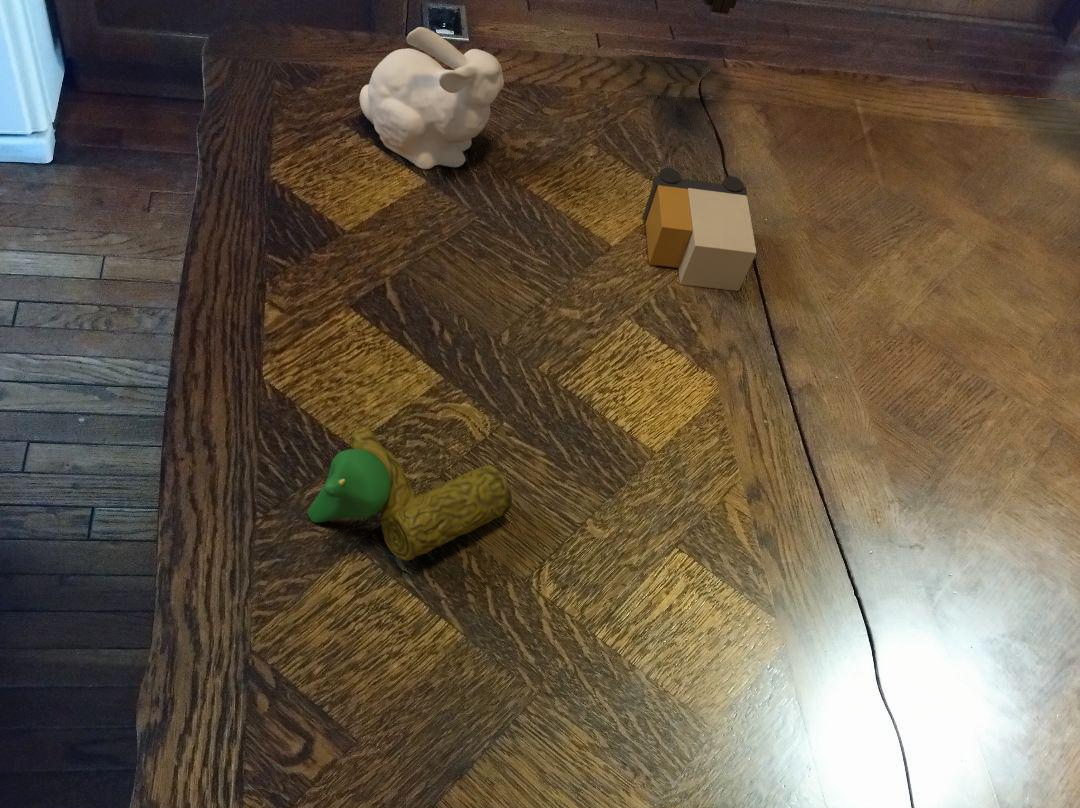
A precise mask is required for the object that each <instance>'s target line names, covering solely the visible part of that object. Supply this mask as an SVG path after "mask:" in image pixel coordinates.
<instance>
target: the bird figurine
mask: <svg viewBox="0 0 1080 808" xmlns="http://www.w3.org/2000/svg"><path fill="white" fill-rule="evenodd" d="M349 443H350V446H351V448H349V449H345V450H342V451H340V452H338V453H337V454H336V455H334V457H333V458H332V460H331V463H330V467H329V471H328V475H327V478H326V481H325V483H324V485H323V487H322V488H321V490H320V491H319V493H318V495H317V496H316V497H315V498H314V500H313V501H312V503H311V504H310V506H309V508H308V510H307V516H308V518H309V519H310V521H311V522H312V523H315V524H317V523H323V522H324V523H325V522H330V521H334V520H338V519H347V518H355V519H356V518H357V519H367V518H370V517H373V516H374V515H376V514H377V513H378V512H380V511H381V510H382V509H383V510H382V513H381V517H380V525H381V531H382V534H383V539H384V542H385V544H386V546H387V548H388V549H389V551H390V552H391V553H392V554H393V555H394V556H395V557H396V558H398V559H399V560H402V561H405V562H407V561H411V560H414V559H415V558H416V557H418V556H422V555H425V554H427V553H429V552H431V551H432V550H434V549H435V548H440V547H441V546H443V545H445V544H446V543H448V542H452V541H453V540H454V539H456V538H458V537H459V536H463V535H467V534H468V533H471V532H472V531H475V530H477V529H478V528H480V527H482V526H484V525H486V524H488V523H490V522H492V521H493V520H496V519H497V518H501V517H503V516H505V515H506V514H508V513H509V511H510V509H511V507H512V503H513V502H512V500H513V496H512V490H511V487H510V483H509V482H508V481H507V479H506V478H505V476H504V474H503V473H502V472H500V470H499V469H497V468H496V467H494V466H492V465H487V464H486V465H482V466H480V467H478V468H476V469H473V470H471V471H468V472H466V473H464V474H461V475H459V476H457V477H455V478H453V479H450V480H448V481H445V482H444V483H442V484H441V485H438V486H436V487H433V488H431V489H429V490H427V491H425V492H423V493H417V492H416V491H415V490H414V488H413V486H412V484H411V482H410V481H409V480H408V478H407V476H406V474H405V471H404V469H403V468H402V466H401V463H400V462H399V460H398V459H397V458H396V457H395V456H394V455H393V454H392V453H391V452H390V451H389V450H388V449H387V448H386V447H384V446H383V445H382V444H381V443H380V441H379V440H378V438H377V436H376V435H375V433H374V431H373V429H372V427H370V426H363V427H360V428H357V430H355V431H354V432H352V433H351V434H350V438H349Z"/></svg>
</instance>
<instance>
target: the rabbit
mask: <svg viewBox="0 0 1080 808" xmlns="http://www.w3.org/2000/svg"><path fill="white" fill-rule="evenodd" d="M406 43H407V45H409V46H412V47H414V48H417V49H420V51H419V50H417V49H414V48H399V49H396V50H393V51H391V52H390V53H389V54H388V55H386V56H385V57H384V58H383V59H382V60H381V61H380V62H379V63H378V64H377V66H376V67H375V68H374V69H373V71H372V74H371V76H370V78H369V82H368V84H365V85H364V86H363V87H361V90H360V93H359V97H358V99H359V106H360V110H361V111H362V113H363V115H364V116H365V118H366V119H367V120H368V121H369V122H370V123H371V124H372V125H373V127H374V130H375V132H376V133H377V134H378V135H379V139H380V140H381V142H382V144H383V146H385V147H386V148H387V149H389V150H390V151H392V152H393V153H395V154H397V155H399V156H400V157H403V158H404V159H406V160H408V161H409V162H410V163H412V164H413V165H415V166H416V167H417V168H419V169H421V170H430V169H432V168H434V167H435V166H444V167H449V168H459V167H461V166H463V165H464V164H465V163H466V161H467V159H466V156H465V154H464V152H465V151H467V150H468V149H470V148H471V146H472V144H473V143H472V142H473V141H472V139H473V138H475V137H477V136H478V135H479V134H480V133H481V132H482V131H483V129H484V128H485V127H486V125H487V123H488V122H489V121H490V117H491V104H492V103H494V101H495V100H496V98H497V97H498V95H499V93H500V92H501V91H502V90H503V88H504V86H505V85H504V84H505V80H504V76H503V69H502V66H501V63H500V62H499V60H498V59H497V57H495V56H494V55H493V54H491V53H489V52H487V51H485V50H481V49H478V48H472V49H469V50H467V51H466V52H465V53H464V54H463V53H462V52H460V51H459V50H458V49H457V48H456V47H455V46H454V45H452V44H451V43H450V42H449V41H448V40H446V39H444V38H443V36H440V35H439V34H438V33H436V32H434V31H433V30H430V29H429V28H426V27H423V26H419V27H416V28H415V29H413V30H412V31H410V32H409V33H408V35H407V36H406ZM422 51H423V52H422ZM426 53H427V54H426ZM431 56H432V57H431ZM434 58H435V59H437V60H438V61H440V62H441V63H443V64H444V65H446V66H448V67H449V68H452V69H446V68H444V67H443V66H442V65H441V64H440V63H439V62H438V61H436V60H435V59H434Z"/></svg>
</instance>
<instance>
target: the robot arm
mask: <svg viewBox="0 0 1080 808" xmlns="http://www.w3.org/2000/svg"><path fill="white" fill-rule="evenodd" d="M702 1H703V4H705V5H706V6H709V11H710V12H711V13H718V14H724V15H728V14H729V12H730V10H731V9H732V10H734V9H735V7H736V6H737V5H736V4H737V2H738V0H702Z"/></svg>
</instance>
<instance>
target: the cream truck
mask: <svg viewBox="0 0 1080 808" xmlns="http://www.w3.org/2000/svg"><path fill="white" fill-rule="evenodd" d="M643 222H644V224H645V234H646V245H647V257H648V258H647V259H648V265H649V266H650V265H651V266H659V267H667V268H674V269H675V268H676V269H678V280H679V285H681V286H690V287H698V288H699V287H700V288H709V289H715V290H716V289H717V290H725V291H734V292H739V291H740V289H741V287H742V285H743V283H744V281H745V278H746V276H747V274H748V272H749V270H750V268H751V266H752V263H753V262H754V259H755V257H756V255H757V246H756V241H755V234H754V229H753V224H752V216H751V211H750V205H749V199H748V191H747V187H745V186H744V182H743V181H742V179H740V178H738V177H737V176H733V175H730V176H729V175H728V176H726V177H724V178H723V180H722V183H717V182H709V181H701V180H694V179H688V178H687V179H685V178H681V174H680V172H679V171H677V170H676V169H675V168H672V167H664V168H662V169H661V170H660V171H659V173H658V175H655V177H654V179H653V183H652V187H651V189H650V192H649V196H648V198H647V202H646V204H645V208H644V211H643Z"/></svg>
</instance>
